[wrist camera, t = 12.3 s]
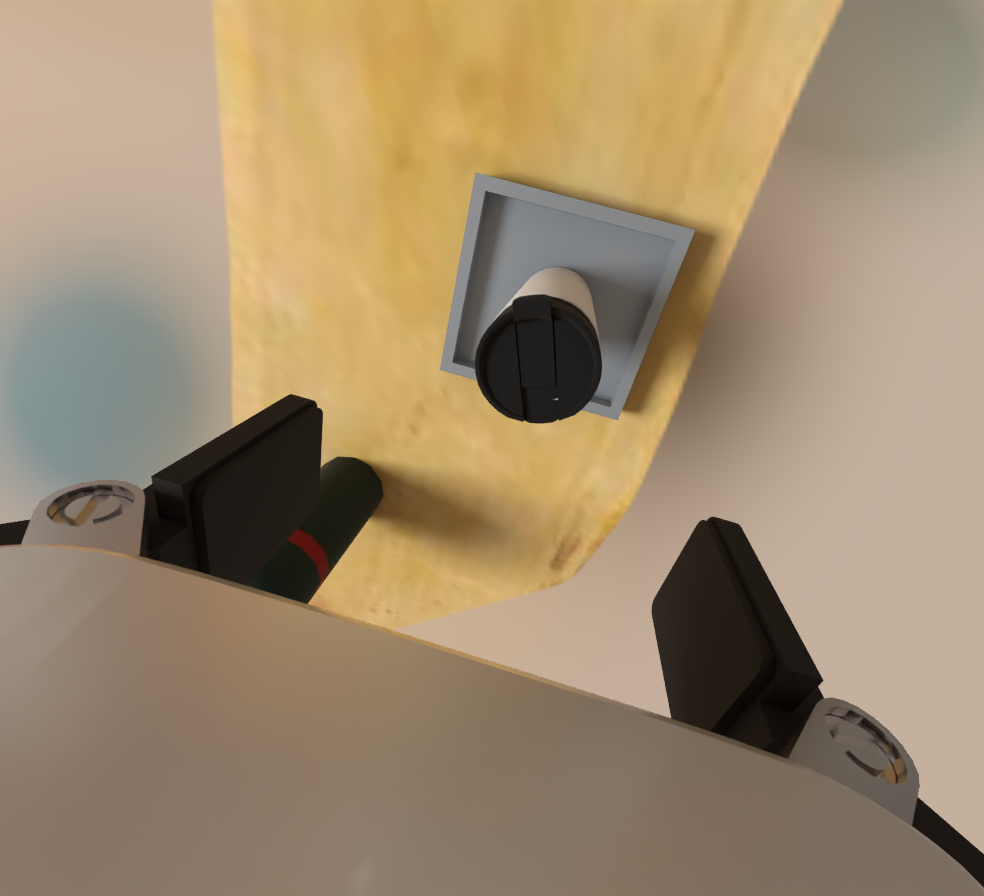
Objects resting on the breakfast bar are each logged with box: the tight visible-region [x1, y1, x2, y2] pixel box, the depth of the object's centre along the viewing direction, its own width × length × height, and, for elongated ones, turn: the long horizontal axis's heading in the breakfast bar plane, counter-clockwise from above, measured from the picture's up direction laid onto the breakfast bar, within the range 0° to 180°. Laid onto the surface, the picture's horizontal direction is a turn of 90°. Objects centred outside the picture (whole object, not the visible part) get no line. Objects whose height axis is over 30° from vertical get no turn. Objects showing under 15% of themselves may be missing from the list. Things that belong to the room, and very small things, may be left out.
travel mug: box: [475, 267, 602, 424], centre depth 29 cm, size 6×7×20 cm
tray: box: [440, 173, 695, 420], centre depth 38 cm, size 16×17×2 cm
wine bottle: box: [246, 457, 383, 604], centre depth 39 cm, size 8×10×30 cm
